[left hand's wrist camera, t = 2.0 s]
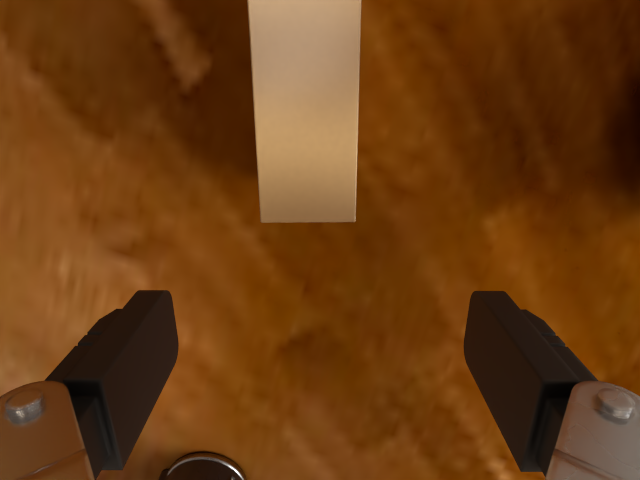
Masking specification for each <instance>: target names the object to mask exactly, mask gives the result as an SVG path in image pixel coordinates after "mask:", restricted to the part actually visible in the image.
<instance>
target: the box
mask: <svg viewBox="0 0 640 480" xmlns="http://www.w3.org/2000/svg"><path fill="white" fill-rule="evenodd" d="M247 5H248V22H249V38H250V55H251V71H252V88H253V104H254V121H255V137H256V154H257V170H258V187H259V204H260V220H261V222H262V223H276V222H355V221H356V187H357V149H358V111H359V72H360V34H361V0H247Z"/></svg>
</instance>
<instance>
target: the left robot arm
mask: <svg viewBox="0 0 640 480" xmlns="http://www.w3.org/2000/svg"><path fill="white" fill-rule="evenodd" d="M177 355H178V336H177V329H176V322H175V315H174V309H173V302H172V297H171V294H170V292H169V291H167V290H139V291H137V292H136V293H135V294H134V296H133V297H132V298H131V299H130V300H129V301H128V303H127V304H126V305H125V306H124V307H123V309H116V310H114V311H112V312H111V313H109V314H108V315H106V316H104V317H103V318H101V319H99V320H98V321H97V323H96V324H95V325H94V326H93V327H92V328H91V329H90V330H89V331H88V334H87V335H85V336H84V337H83V338H82V339H81V340H80V341H79V343H78V346H75V347H74V348H73V349H72V350H71V352H70V353H69V354H68V355H67V356H66V357H65V358H64V359H63V360H62V362H61V363H60V364H59V365H58V366H57V367H56V368H55V369H54V371H53V372H52V373H51V374H50V375H49V376H48V377H47V378H46V379H45V381H39V382H34V383H30V384H26V385H23V386H21V387H18V388H16V389H13V390H11V391H9V392H7V393H6V394H4V395H2V396H1V397H0V480H96V478H97V477H98V475H99V473H100V471H101V470H123V468H124V466H125V464H126V462H127V459H128V457H129V455H130V453H131V451H132V449H133V447H134V445H135V443H136V441H137V439H138V437H139V435H140V433H141V431H142V429H143V427H144V425H145V423H146V421H147V419H148V417H149V415H150V413H151V411H152V409H153V407H154V405H155V403H156V401H157V399H158V397H159V395H160V393H161V391H162V389H163V387H164V385H165V383H166V381H167V379H168V377H169V375H170V373H171V371H172V369H173V367H174V365H175V363H176V360H177ZM464 355H465V360H466V363H467V365H468V368H469V370H470V372H471V373H472V375H473V377H474V379H475V381H476V383H477V385H478V387H479V389H480V391H481V393H482V395H483V397H484V399H485V401H486V403H487V405H488V407H489V409H490V411H491V413H492V415H493V417H494V419H495V421H496V423H497V425H498V427H499V429H500V431H501V433H502V435H503V437H504V439H505V441H506V443H507V445H508V447H509V449H510V451H511V453H512V455H513V457H514V459H515V461H516V463H517V465H518V467H519V469H520V471H521V472H543V474H544V475H545V477H546V478H545V480H640V397H639V396H638V395H636V394H634V393H633V392H631V391H629V390H627V389H624V388H622V387H619V386H617V385H614V384H610V383H606V382H601V381H598V380H597V379H596V378H595V377H594V376H593V374H592V373H591V372H590V371H589V370H588V369H587V368H586V367H585V366H584V365H583V363H582V362H581V361H580V360H579V359H578V358H577V357H576V356H575V355H574V353H573V352H572V351H571V350H570V349H569V348H568V347H565V344H564V342H563V341H562V340H561V339H560V338H559V337H558V336H556V335H555V332H554V331H553V330H552V329H551V328H550V327H549V326H548V325H547V324H546V322H545V321H544V320H542V319H540V318H539V317H537V316H535V315H534V314H532V313H531V312H529V311H527V310H520V309H519V307H518V306H517V305H516V304H515V303H514V301H513V300H512V299H511V298H510V297H509V296H508V294H507V293H506V292H504V291H474V292H473V293H472V295H471V298H470V304H469V311H468V318H467V324H466V331H465V338H464ZM159 480H247V479H246V476H245V474H244V472H243V471H242V469H241V468H240V467H239V466H238V465H237V464H236V463H234V462H233V461H231V460H230V459H228V458H226V457H223V456H220V455H217V454H212V453H195V454H190V455H187V456H184V457H182V458H180V459H179V460H177V461H176V462H175V463H174V464H173V465H172V466H171V467H170V469H168V470H164V471H162V472H161V475H160V477H159Z"/></svg>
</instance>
